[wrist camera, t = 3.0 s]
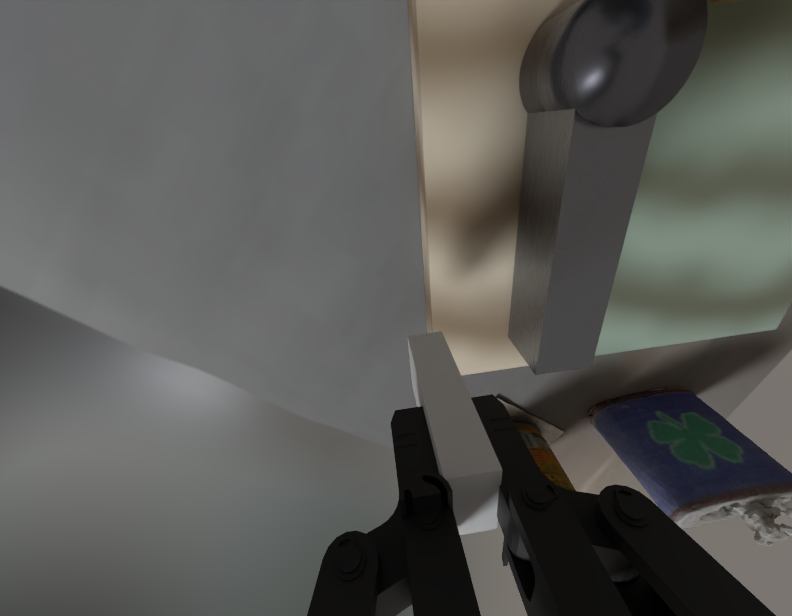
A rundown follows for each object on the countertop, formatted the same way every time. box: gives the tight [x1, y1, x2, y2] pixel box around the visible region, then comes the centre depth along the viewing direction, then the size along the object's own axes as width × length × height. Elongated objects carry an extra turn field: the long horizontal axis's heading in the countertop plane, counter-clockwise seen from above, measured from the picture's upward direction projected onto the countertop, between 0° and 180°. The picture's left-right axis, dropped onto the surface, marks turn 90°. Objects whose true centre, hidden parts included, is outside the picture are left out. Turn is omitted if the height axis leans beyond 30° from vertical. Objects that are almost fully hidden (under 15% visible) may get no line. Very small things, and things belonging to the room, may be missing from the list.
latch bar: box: [508, 0, 708, 375], centre depth 14 cm, size 15×4×4 cm, turn 6°
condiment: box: [497, 398, 576, 491], centre depth 23 cm, size 7×8×12 cm
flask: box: [589, 387, 792, 546], centre depth 23 cm, size 9×3×11 cm, turn 97°
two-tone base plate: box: [408, 0, 792, 375], centre depth 15 cm, size 22×24×8 cm
